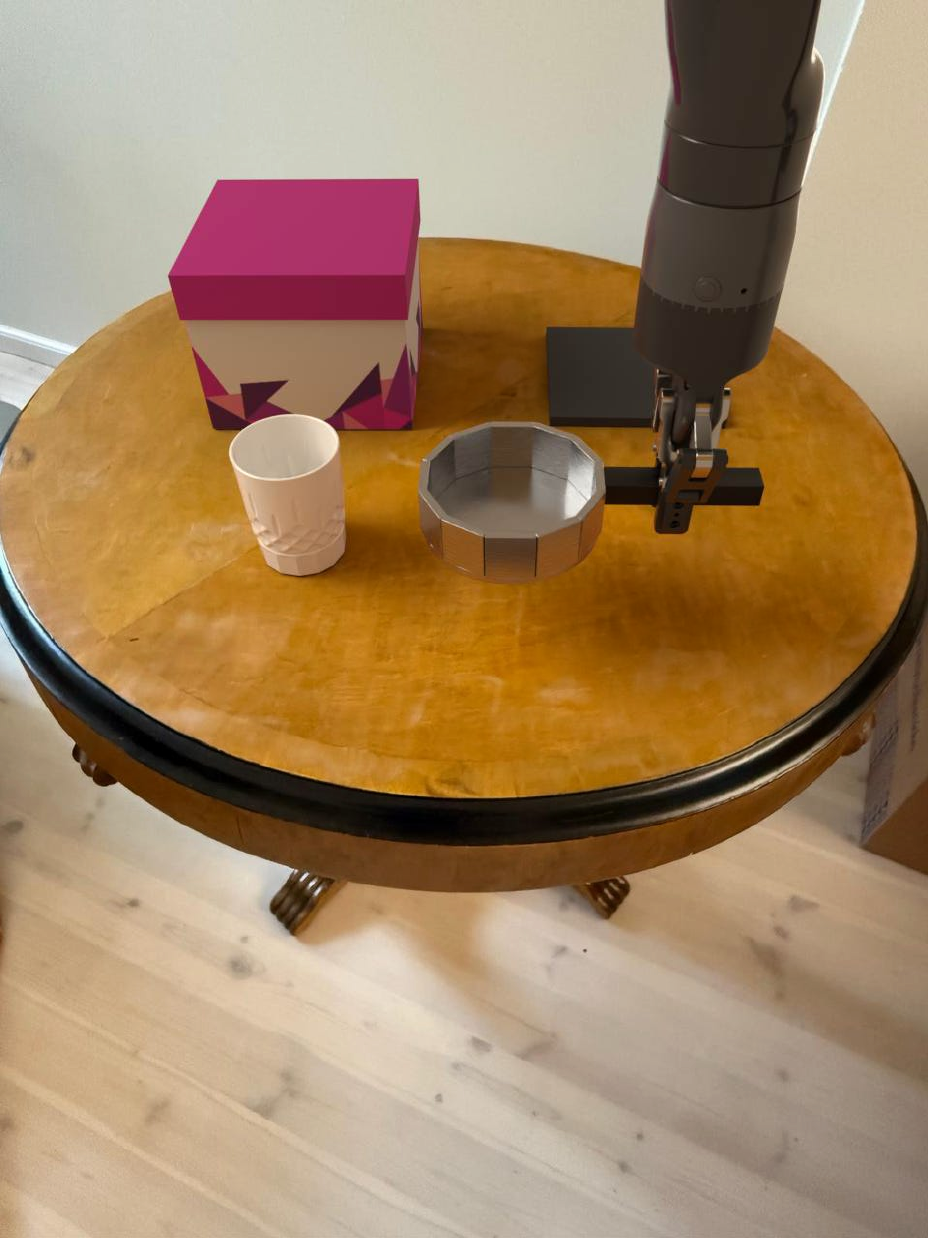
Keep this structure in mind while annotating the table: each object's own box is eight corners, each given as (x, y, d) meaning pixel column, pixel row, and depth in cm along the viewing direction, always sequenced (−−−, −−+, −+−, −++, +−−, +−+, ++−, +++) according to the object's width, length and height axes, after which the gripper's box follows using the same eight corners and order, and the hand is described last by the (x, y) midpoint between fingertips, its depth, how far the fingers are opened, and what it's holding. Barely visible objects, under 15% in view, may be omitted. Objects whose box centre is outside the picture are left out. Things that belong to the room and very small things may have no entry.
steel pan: (416, 584, 57) (411, 536, 54) (429, 468, 66) (426, 420, 63) (765, 588, 56) (780, 540, 53) (734, 469, 64) (746, 421, 61)
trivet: (700, 336, 93) (702, 327, 92) (724, 428, 82) (727, 419, 81) (546, 335, 93) (546, 326, 93) (549, 425, 83) (550, 416, 82)
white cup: (320, 594, 68) (301, 491, 61) (235, 564, 71) (206, 462, 63) (371, 531, 73) (359, 429, 66) (289, 505, 75) (269, 403, 68)
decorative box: (425, 325, 95) (418, 178, 84) (415, 432, 82) (404, 274, 71) (247, 325, 95) (217, 179, 84) (209, 431, 83) (167, 275, 72)
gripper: (814, 335, 43) (741, 591, 55) (761, 211, 52) (709, 454, 65) (654, 335, 43) (618, 590, 56) (630, 212, 52) (605, 454, 65)
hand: (667, 516), depth 60 cm, fingers closed on steel pan, 2 cm apart
